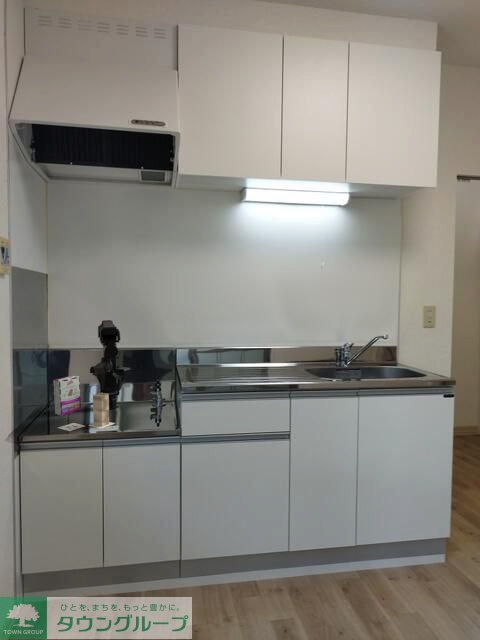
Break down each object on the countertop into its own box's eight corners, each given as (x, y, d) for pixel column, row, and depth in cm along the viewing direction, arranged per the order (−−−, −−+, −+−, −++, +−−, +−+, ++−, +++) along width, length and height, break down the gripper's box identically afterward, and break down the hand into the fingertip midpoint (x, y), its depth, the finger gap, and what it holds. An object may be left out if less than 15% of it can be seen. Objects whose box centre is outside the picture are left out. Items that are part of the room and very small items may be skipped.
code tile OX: (87, 425, 192) (87, 425, 192) (102, 420, 199) (102, 420, 199) (100, 429, 188) (100, 428, 188) (115, 423, 195) (115, 423, 195)
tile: (57, 428, 189) (57, 427, 189) (73, 423, 196) (73, 422, 196) (69, 431, 185) (69, 431, 185) (85, 426, 192) (85, 425, 192)
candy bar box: (74, 408, 218) (73, 375, 217) (81, 410, 215) (80, 376, 214) (54, 414, 209) (52, 379, 207) (61, 416, 206) (59, 380, 205)
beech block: (100, 422, 197) (99, 392, 195) (109, 423, 195) (108, 393, 194) (93, 425, 192) (92, 395, 191) (102, 426, 191) (101, 396, 190)
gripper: (80, 356, 197) (81, 391, 198) (115, 359, 190) (116, 395, 191) (97, 352, 207) (98, 386, 209) (131, 355, 200) (132, 389, 201)
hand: (110, 389), depth 202 cm, fingers open, 9 cm apart
